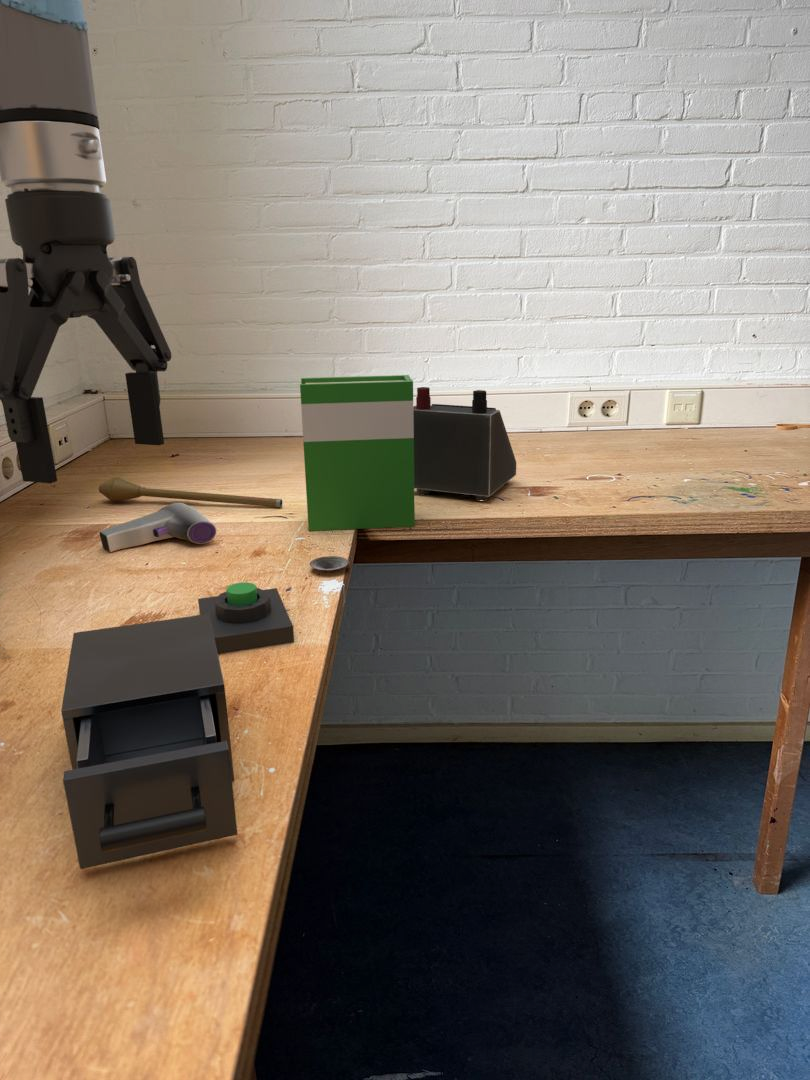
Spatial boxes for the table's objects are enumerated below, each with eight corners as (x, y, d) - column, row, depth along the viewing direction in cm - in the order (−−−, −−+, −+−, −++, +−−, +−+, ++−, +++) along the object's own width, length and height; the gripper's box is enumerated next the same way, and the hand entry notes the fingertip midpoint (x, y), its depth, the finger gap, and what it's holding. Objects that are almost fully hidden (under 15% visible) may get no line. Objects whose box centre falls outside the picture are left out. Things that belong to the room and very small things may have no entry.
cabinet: (234, 780, 69) (224, 683, 66) (79, 812, 66) (60, 710, 62) (218, 697, 82) (209, 613, 79) (88, 720, 79) (73, 632, 76)
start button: (225, 597, 98) (224, 584, 97) (255, 593, 99) (254, 580, 98) (229, 609, 94) (227, 595, 94) (259, 604, 96) (258, 591, 95)
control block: (199, 614, 102) (196, 585, 100) (277, 603, 105) (275, 575, 103) (207, 656, 91) (204, 624, 90) (294, 642, 94) (292, 611, 92)
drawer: (244, 873, 58) (235, 783, 55) (76, 913, 54) (57, 819, 52) (220, 740, 74) (212, 665, 71) (89, 764, 70) (75, 687, 68)
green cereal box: (308, 531, 132) (299, 384, 124) (309, 517, 139) (301, 378, 131) (414, 526, 133) (413, 381, 125) (410, 512, 140) (408, 374, 132)
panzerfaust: (277, 493, 141) (285, 488, 146) (93, 478, 146) (106, 473, 151) (276, 519, 143) (285, 513, 147) (94, 503, 148) (108, 498, 152)
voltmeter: (516, 481, 158) (519, 379, 151) (489, 504, 144) (491, 393, 138) (441, 473, 165) (441, 376, 158) (408, 494, 151) (406, 388, 144)
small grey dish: (321, 580, 112) (320, 572, 111) (304, 568, 116) (303, 561, 116) (355, 572, 114) (355, 564, 114) (337, 560, 119) (337, 553, 118)
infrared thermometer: (101, 551, 127) (187, 524, 136) (131, 572, 118) (222, 542, 127) (95, 524, 125) (183, 499, 134) (125, 543, 116) (217, 515, 125)
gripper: (-43, 174, 49) (21, 505, 56) (192, 198, 71) (217, 433, 78) (-130, 182, 52) (-58, 497, 59) (123, 202, 74) (154, 429, 81)
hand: (99, 461), depth 68 cm, fingers open, 13 cm apart
